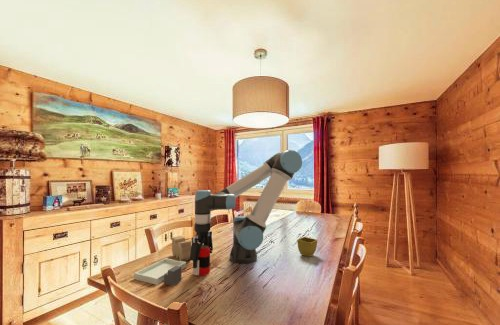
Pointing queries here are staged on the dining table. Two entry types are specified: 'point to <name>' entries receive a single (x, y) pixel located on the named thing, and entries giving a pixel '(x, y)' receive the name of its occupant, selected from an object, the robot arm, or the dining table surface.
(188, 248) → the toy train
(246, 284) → the dining table surface
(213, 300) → the dining table surface
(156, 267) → the tray
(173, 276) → the dark grey block
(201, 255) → the soda can
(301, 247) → the flower pot
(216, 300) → the dining table surface
